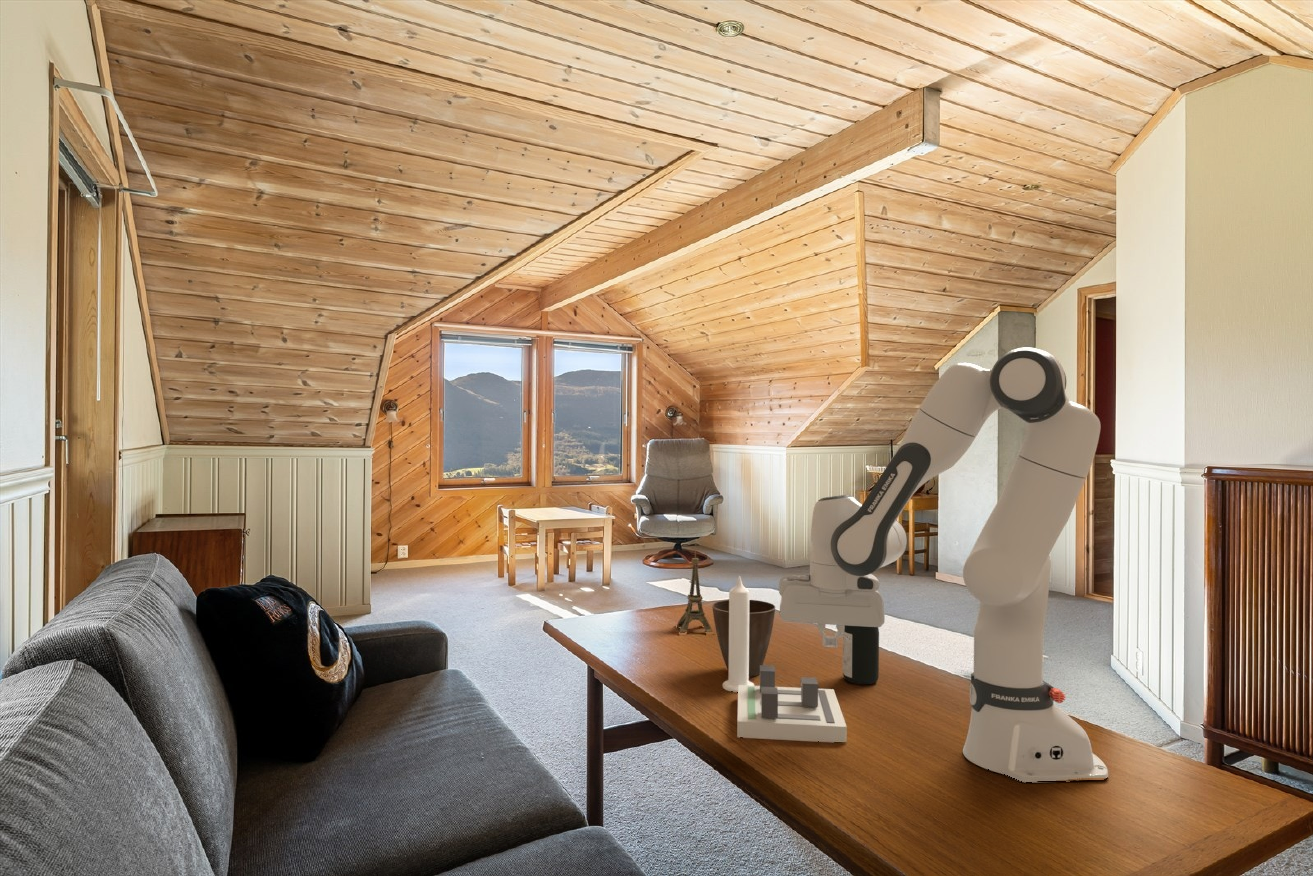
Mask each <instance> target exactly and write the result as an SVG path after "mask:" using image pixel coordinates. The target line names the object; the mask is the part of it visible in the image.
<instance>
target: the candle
mask: <svg viewBox="0 0 1313 876" xmlns="http://www.w3.org/2000/svg"><path fill="white" fill-rule="evenodd" d="M743 584H744V583H743V581H742V577H741V576H740V575H738V577H737V581H736V584H735V585H734V586H733V587H732V588H731V589H729V591H728V593H729V594H728V600H729V672H728V679H727V680H724V681H723V682H722V688H723V689H724V690H725V691H728V692H731V691H733V692H732V693H737V692H738V685H749V686H755V683H754V682H752V681H751V680H749V679H750V677H749V600H750V590H749V589H748V588H746V587H745V586H744V585H743Z"/></svg>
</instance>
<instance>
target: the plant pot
mask: <svg viewBox="0 0 1313 876" xmlns="http://www.w3.org/2000/svg"><path fill="white" fill-rule="evenodd" d="M775 612H776V605H774V604H773V603H771V602H767V601H763V600H756V599H749V678H753V676H754V677H756V676H758V675H760V665H764V662H765V660H766V656H767V653H768V649H769V646H770V640H771V637H772V633H773V626H774V622H775V621H774V620H775V615H776V614H775ZM712 614H713V621H714V627H715V628H714V629H715V632H716V633H715V634H716V637H717V640H718V645H719V648H720V651H721V655H722V657H723V662H724V664H725V666H726V670H727V672H728V673H729V599H724V600H720V601H716V602H713V604H712Z"/></svg>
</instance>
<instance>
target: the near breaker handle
mask: <svg viewBox="0 0 1313 876" xmlns="http://www.w3.org/2000/svg"><path fill="white" fill-rule="evenodd" d="M777 687H778V686H775V687H761V715H762V717H773V718H778V691H777Z"/></svg>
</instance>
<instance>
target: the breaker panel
mask: <svg viewBox="0 0 1313 876" xmlns="http://www.w3.org/2000/svg"><path fill="white" fill-rule="evenodd" d="M776 687H777V691H778V718H773V717H762V715H761V692H760V685H754V686H749V685H738V693H737V729H736V732H737V733H736V734H737V735H736V737H737V738H740V737H743V739H763V740H781V741H782V740H783V741H800V742H818V741H819V742H820V743H834V742H847V739H848V738H847V737H848V735H847V734H848V730H847V729H848V726H847V724H846V723H847V722H846V721H845V717H844V715H843V712H842V709H841V707H840V704H839V701H838V698H837V695H836V693H835V688H834V689H833V688H832V689H831V688H818V707H813V706H802V702H801V687H794V686H793V687H791V686H790V687H787V686H776ZM819 742H818V743H819ZM847 743H848V742H847Z"/></svg>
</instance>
